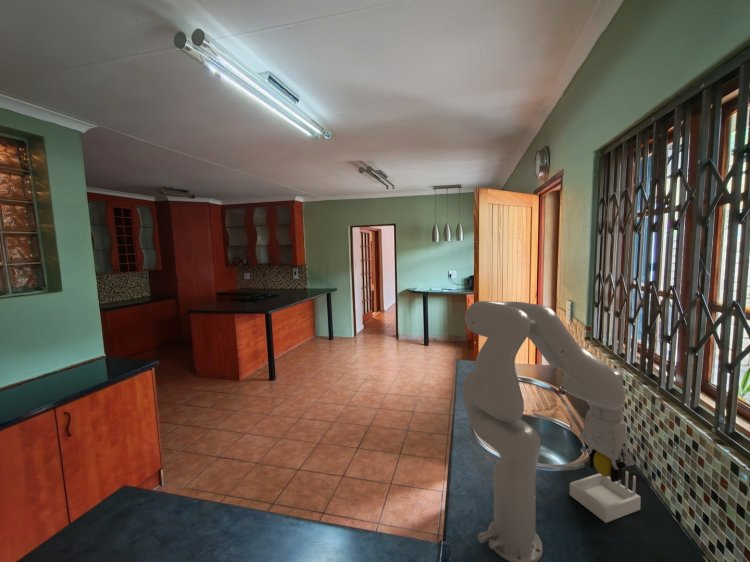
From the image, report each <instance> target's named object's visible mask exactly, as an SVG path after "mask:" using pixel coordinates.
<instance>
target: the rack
mask: <svg viewBox="0 0 750 562" xmlns="http://www.w3.org/2000/svg"><path fill="white" fill-rule="evenodd" d="M624 481H625V484H624V485H623V484H622V479H621V480H619V481H616V482H612V481H611V476H607V477H604V476H603V475H602V474H600V473H599V472H598V473H596V474H593V475H590V476H587V477H584V478H581V479H577V480H574V481H571V482H569V496H571V498H573V499H574V500H575V501H577V502H579V503H580V505H582V506H584V508H586V509H588V510H589V512H591V513H593V515H595V516H596V517H597V518H599V519H600V520H601V521H603V522H604V523H605V524H607V523H609V522H612V521H614V520H617V519H620V518H622V517H624V516H627V515H630V514H632V513H635V512H638V511H641V504H642V503H641V498H642V497H641V495H639V494H637V493H636V484H637V483H636V481H637V477H636V475H633V476H632V490H631V489H629V471H627V470H625V479H624Z"/></svg>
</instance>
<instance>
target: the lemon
mask: <svg viewBox="0 0 750 562" xmlns="http://www.w3.org/2000/svg"><path fill="white" fill-rule="evenodd" d="M593 462H594V466H595V470H596V471H597V472H598V474H599V473H600V474H602V475H603V476H604V477H607V476H609V477H611V467H613V465H612V461H611V459H610V458H608V457H606V456H605V455H603V454H601V453H599V452H598V451H597V452H596V453H595V455H594V459H593Z"/></svg>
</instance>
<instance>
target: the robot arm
mask: <svg viewBox="0 0 750 562" xmlns="http://www.w3.org/2000/svg"><path fill="white" fill-rule="evenodd" d="M464 321H465V325H466V327H467V328H468V329H469V330H470V331H471V332H472V333H474V334H476V335H478V336H482V337H485V338H486V340H485V342H484V343H483V345H482V346H481V348H480V350H479V351H478V353H477V356H476V358H475V359H476V360H475V367H476V369H473V370H471V371H469V372H468V373H467V374H466V376H465V377H464V379H463V382H462V389H461V390H462V391H461V392H462V398H463V401H464V405H465V409H466V412H467V415H468V418H469V421H470V425H471V428H472V430H473V431H474V433H475V434H476V436H477V437H478V438H480V439H481V440H482V441H483V442H484V443H486V444H487V445H488V446H490V447H491V448H493V450H495V451H496V452H497V453H498V454H499V457H500V459H499V460H498V461H497V462H496V463H495V465H494V469H493V521H491V522H490V523H489V526H488V529H487V531H481V532H480V533H477V540H478V542H479V544H485V543H486V542H488V547H489V548H490V549H491V550H493V551H494V552H495V553H496V554H497V555H498V556H499V557H500V558H503V559H504V560H505V561H508V562H539V561H540V559H541V558H542V555H543V551H544V549H543V542H542V539H541V537H540V535H538V533H537V532H536V519H537V518H536V514H537V513H536V505H537V503H536V498H537V497H536V496H537V495H536V493H537V491H536V490H537V489H536V488H537V487H536V485H537V483H536V481H537V467H538V466H537V465H538V462H539V457H540V453H541V448H542V441H541V438H540V435H539V434H538V432H537V431H536V429H534V427H533V426H531V425H530V424H528V423H527V422H526V421H524V420H522V419H521V418H522V416H523V414H524V412H525V403H524V397H523V394H522V390H521V385H520V382H519V379H518V374H517V369H516V358H517V354H518V353H519V350H520V349H521V347H522V345H523V343H525V341H526V339H529V340H530V341H531V343H532V344H533V345H534V346H535V347H536V349H537V350H538V351H539V352H540V354H541V356H543V358H544V359H545V361H546V363H548V364H549V365H550V366H553V367H554V368H556V369H557V370H559V371H560V372H561V373H564V375H563V376H562V380H561V386H562V389H564V391H565V392H566V393H568V394H569V395H570V396H573V397H575V398H577V399H580V400H582V401H585V402H586V404H587V406H589V410H587V412H586V414H585V418H584V423H583V431H582V433H580V434H579V438H581V440H582V442H583V444H584V446H585V447H586V449H587V450H586V451H587V454H588V455H589V457H588V458H589V464H588V465H589V468H590V469H594V468H595V466H594V462H593V459H594V455H595V453H596V452H597V451H598V452H599V453H601V454H603V455H605V456H606V457H608V458H610V459H611V461H612V465H613V467H611V476H610V478H611V481H612V482H616V481H617V482H618V481H619V480H621V481H622V478H623V468H625V467H630V466H633V465H636V464H635V461H634V459H633V456H632V455H631V454H630V452H629V451H628V450H629V444H628V441H629V440H628V435H627V433H628V432H627V429H626V428H627V427H626V423H625V421H624V419H623V417H624V416H623V408H624V407H623V404H624V403H625V400H626V391H625V388H624V375H623V373H622V371H620V370H619V369H617V368H615V367H611V366H609V365H608V364H607V363H605V362H604V361H602V360H601V359H599V358H598V357H597V356H595V355H594V354H593V353H592V352H590V351H588V349H587V348H584V347H583V346H581V345H580V344H579V343H578V342H577V341H576V339H575V338H574V337H573V336H572V334H571V332H570V331H569V329H568V328H567V327H566V325H565V324H564V323H563V321H562V319H560V317H559V316H558V314H557V313H556V312H555V311H554V310H553V309H552V308H550V307H549V306H546V305H543V304H542V305H541V304H535V303H530V302H523V301H491V300H490V301H489V300H479V301H476V302H474V303H472V304H470V305H469V307H468V308H467V309H466V312H465V315H464ZM623 459H624V460H623ZM595 469H596V468H595Z"/></svg>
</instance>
